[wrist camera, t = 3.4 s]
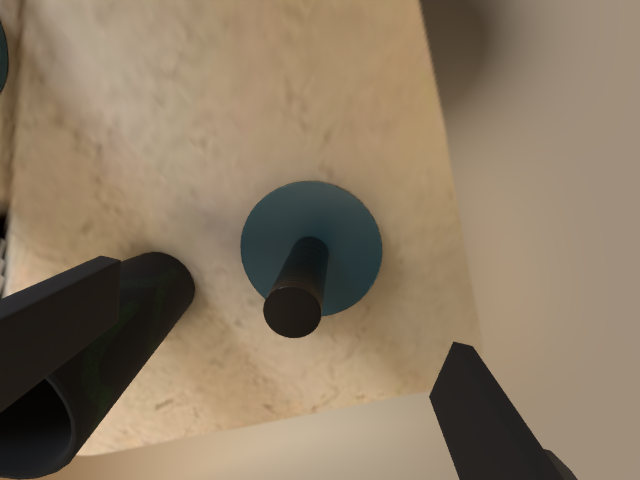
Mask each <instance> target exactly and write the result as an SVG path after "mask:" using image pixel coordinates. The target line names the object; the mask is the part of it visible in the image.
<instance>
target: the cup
mask: <svg viewBox="0 0 640 480" xmlns="http://www.w3.org/2000/svg"><path fill="white" fill-rule="evenodd" d="M194 291H195V287H194V282H193V279H192V277H191V274H190V272H189V271H188V270H187V268H186V267H185V266H184V265H183V264H182V263H181V262H180V261H179V260H177V259H176V258H174V257H172V256H170V255H167V254H164V253H160V252H150V253H144V254H142V255H139V256H136V257H133V258H130V259H128V260H125V261H122V262H121V268H120V295H119V322H117V323H116V324H115V325H113V326H112V327H111V328H109V329H108V330H107V331H106V332H104V333H103V334H102V335H100V336H99V337H98V338H97V339H95V340H94V341H93V342H91V343H90V344H89V345H87V346H86V347H85V348H84V349H82V350H81V351H80V352H78V353H77V354H76V355H74V356H73V357H72V358H71V359H69V360H68V361H67V362H65V363H64V364H63V365H62V366H60V367H59V368H58V369H56V370H55V371H54V372H52V373H51V374H50V375H49V376H47V377H46V378H45V379H43V380H42V381H41V382H39V383H38V384H37V385H36V386H34V387H33V388H32V389H30V390H29V391H28V392H26V393H25V394H24V395H23V396H21V397H20V398H19V399H17V400H16V401H15V402H14V403H12V404H11V405H10V406H8V407H7V408H6V409H4V410H3V411H2V412H1V413H0V477H2V478H10V479H18V480H20V479H34V478H39V477H43V476H46V475H49V474H52V473H55V472H58V471H59V470H60V469H62V468H63V467H65V466H66V465H68V464H69V463H70V462H71V460H72V459H73V458H74V456H75V455H76V454H77V453H78V451H79V450H80V449H81V447H82V446H83V445H84V443H85V442H86V441H87V439H88V438H89V437H90V435H91V434H92V433H93V432H94V430H95V429H96V428H97V426H98V425H99V424H100V422H101V421H102V420H103V418H104V417H105V416H106V414H107V413H108V412H109V411H110V409H111V408H112V407H113V405H114V404H115V403H116V401H117V400H118V399H119V397H120V396H121V395H122V394H123V392H124V391H125V390H126V388H127V387H128V386H129V384H130V383H131V382H132V380H133V379H134V378H135V376H136V375H137V374H138V373H139V371H140V370H141V369H142V367H143V366H144V365H145V363H146V362H147V361H148V359H149V358H150V357H151V355H152V354H153V353H154V352H155V350H156V349H157V348H158V346H159V345H160V344H161V342H162V341H163V340H164V338H165V337H166V336H167V335H168V333H169V332H170V331H171V329H172V328H173V327H174V325H175V324H176V323H177V321H178V320H179V319H180V317H181V316H182V315H183V314H184V312H185V311H186V310H187V308H188V307H189V306H190V304H191V303H192V300H193V298H194Z"/></svg>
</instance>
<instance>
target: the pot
mask: <svg viewBox="0 0 640 480" xmlns="http://www.w3.org/2000/svg"><path fill="white" fill-rule="evenodd" d="M7 67H8V53H7V45H6V40H5V36H4V32H3V29H2V26H1V23H0V91H1V90H2V87H3V85H4V83H5V79H6V75H7Z"/></svg>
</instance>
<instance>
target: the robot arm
mask: <svg viewBox="0 0 640 480" xmlns="http://www.w3.org/2000/svg"><path fill="white" fill-rule="evenodd" d="M120 268H121V260H117V259H113V258H109V257H105V256H99V257H97V258H94V259H92V260H90V261H87V262H85V263H83V264H81V265H78V266H76V267H74V268H71V269H69V270H67V271H65V272H62V273H60V274H58V275H55V276H53V277H51V278H49V279H46V280H44V281H42V282H39V283H37V284H35V285H33V286H30V287H28V288H26V289H23V290H21V291H19V292H17V293H14V294H12V295H10V296H7V297H5V298H3V299H1V300H0V413H1V412H2V411H3V410H4V409H6V408H7V407H8V406H10V405H11V404H12V403H14V402H15V401H16V400H17V399H19V398H20V397H21V396H23V395H24V394H25V393H26V392H28V391H29V390H30V389H32V388H33V387H34V386H36V385H37V384H38V383H39V382H41V381H42V380H43V379H45V378H46V377H47V376H49V375H50V374H51V373H52V372H54V371H55V370H56V369H58V368H59V367H60V366H62V365H63V364H64V363H65V362H67V361H68V360H69V359H71V358H72V357H73V356H74V355H76V354H77V353H78V352H80V351H81V350H82V349H84V348H85V347H86V346H87V345H89V344H90V343H91V342H93V341H94V340H95V339H97V338H98V337H99V336H100V335H102V334H103V333H104V332H106V331H107V330H108V329H109V328H111V327H112V326H113V325H115V324H116V323H117V322H119V295H120ZM429 398H430V400H431V403H432V406H433V409H434V411H435V414H436V416H437V419H438V422H439V425H440V428H441V430H442V433H443V436H444V438H445V441H446V444H447V447H448V449H449V452H450V455H451V457H452V460H453V463H454V466H455V468H456V471H457V474H458V476H459V479H460V480H577V478H576V477H575V475H574V474H573V473H572V471H571V470H570V469H569V468H568V467H567V466H566V465H564V464H563V462H562V461H561V460H559V458H558V457H556V456H555V454H553V453H552V452H551V451H550V450H546V449H543V448H542V446H541V445H540V443H539V442H538V441H537V439H536V438H535V436H534V435H533V433H532V432H531V430H530V429H529V428H528V426H527V425H526V423H525V422H524V420H523V419H522V417H521V416H520V414H519V413H518V411H517V410H516V409H515V407H514V406H513V404H512V403H511V401H510V400H509V398H508V397H507V395H506V394H505V393H504V391H503V390H502V388H501V387H500V385H499V384H498V382H497V381H496V380H495V378H494V377H493V375H492V374H491V372H490V371H489V369H488V368H487V367H486V365H485V364H484V362H483V361H482V359H481V358H480V356H479V355H478V353H477V352H476V350H475V349H474V347H473V346H470V345H466V344H462V343H457V342H453V344H452V346H451V348H450V350H449V353H448V355H447V357H446V359H445V362H444V364H443V366H442V369H441V371H440V373H439V375H438V378H437V380H436V382H435V384H434V387H433V389H432V391H431V393H430V396H429Z"/></svg>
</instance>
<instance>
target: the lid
mask: <svg viewBox="0 0 640 480" xmlns="http://www.w3.org/2000/svg"><path fill="white" fill-rule="evenodd" d="M241 257H242V263H243V266H244V269H245V272H246V274H247V276H248V278H249V280H250V282H251V283H252V285H253V286H254V288H255V289H256V290H257V291H258V292H259V294H261V295H262V296H263V297H264V298H265V299H266V300H265V303H264V307H263V313H264V317H265V320H266V322H267V324H268V325H269V327H270V328H271V329H272V330H273V331H275V332H276V333H278V334H279V335H282V336H284V337H288V338H300V337H304V336H306V335H308V334H310V333H312V332H313V331H314V330H315V329H316V328H317V326H318V325H319V323H320V320H321V316H327V315H331V314H335V313H338V312H341V311H343V310H345V309H347V308H349V307H351V306H352V305H354V304H355V303H356V302H358V301H359V300H360V299H361V298H362V297H363V296H364V295H365V294H366V293H367V292H368V291H369V289H370V288H371V287H372V285H373V283H374V282H375V280H376V278H377V275H378V273H379V270H380V266H381V262H382V241H381V236H380V232H379V229H378V226H377V224H376V222H375V220H374V218H373V216H372V215H371V213H370V212H369V210H368V209H367V208H366V207H365V206H364V204H363V203H362V202H361V201H360V200H359V199H357V198H356V197H355V196H354V195H352V194H351V193H349V192H348V191H346V190H344V189H342V188H340V187H338V186H335V185H332V184H329V183H324V182H319V181H302V182H295V183H291V184H288V185H285V186H282V187H280V188H278V189H276V190H274V191H272V192H271V193H269V194H268V195H267V196H265V197H264V198H263V199H262V200H261V201H260V202H259V203H258V204H257V205H256V206H255V207H254V209H253V210H252V211H251V213H250V214H249V216H248V218H247V220H246V222H245V225H244V228H243V232H242V236H241Z"/></svg>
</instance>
